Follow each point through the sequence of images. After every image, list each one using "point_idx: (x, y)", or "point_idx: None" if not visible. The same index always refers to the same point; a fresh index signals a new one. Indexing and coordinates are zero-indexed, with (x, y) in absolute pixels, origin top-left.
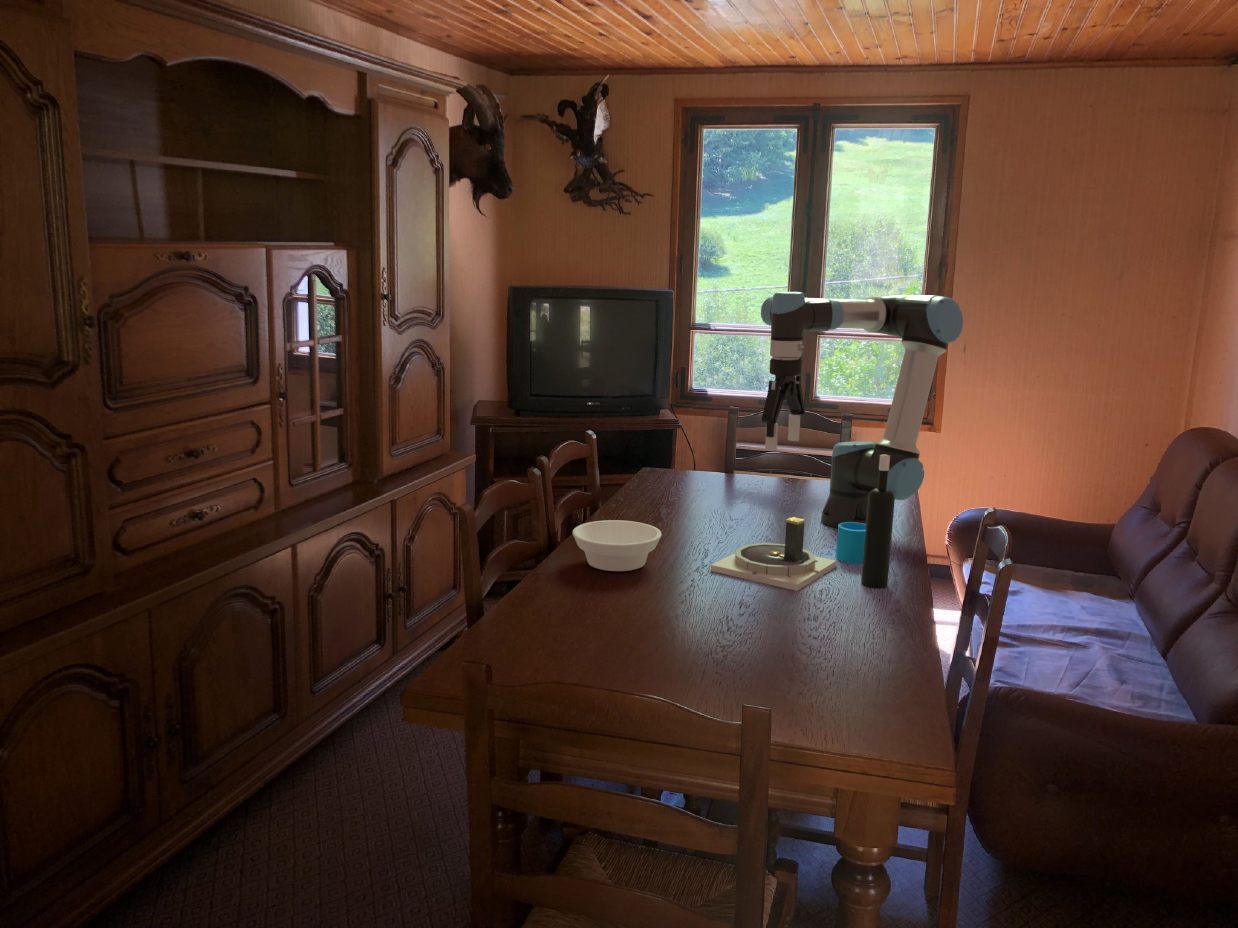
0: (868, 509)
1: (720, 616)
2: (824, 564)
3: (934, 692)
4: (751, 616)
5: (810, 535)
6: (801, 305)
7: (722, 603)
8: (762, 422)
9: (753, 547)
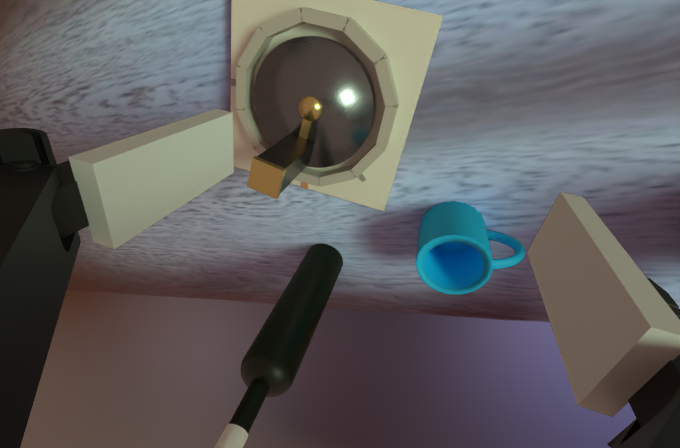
0: (262, 332)
1: (79, 77)
2: (351, 193)
3: (95, 291)
4: (110, 119)
5: (632, 130)
6: None
7: (118, 63)
8: (29, 130)
9: (339, 45)
